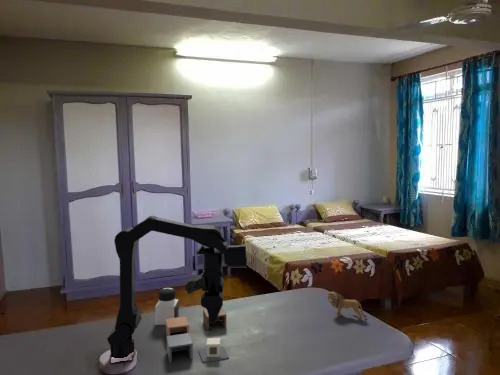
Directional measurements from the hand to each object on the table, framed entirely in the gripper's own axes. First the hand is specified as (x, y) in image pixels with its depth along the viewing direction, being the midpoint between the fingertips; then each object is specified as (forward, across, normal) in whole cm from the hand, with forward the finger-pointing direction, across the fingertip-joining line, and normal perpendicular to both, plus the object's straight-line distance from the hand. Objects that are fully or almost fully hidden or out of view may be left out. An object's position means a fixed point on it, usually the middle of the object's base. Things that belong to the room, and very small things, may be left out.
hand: (213, 317), depth 121 cm
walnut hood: (+12, -21, 0) cm, 24 cm away
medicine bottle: (+12, -25, -18) cm, 33 cm away
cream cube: (+12, 0, 0) cm, 12 cm away
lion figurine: (+12, -26, +49) cm, 57 cm away
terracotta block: (+12, -13, -13) cm, 22 cm away
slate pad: (+12, 0, 0) cm, 12 cm away
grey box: (+12, 0, -10) cm, 16 cm away
